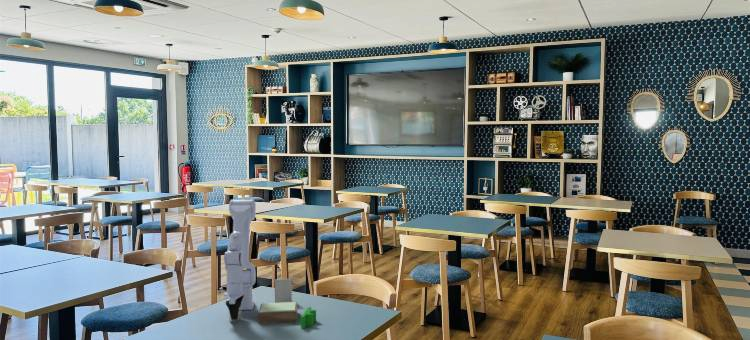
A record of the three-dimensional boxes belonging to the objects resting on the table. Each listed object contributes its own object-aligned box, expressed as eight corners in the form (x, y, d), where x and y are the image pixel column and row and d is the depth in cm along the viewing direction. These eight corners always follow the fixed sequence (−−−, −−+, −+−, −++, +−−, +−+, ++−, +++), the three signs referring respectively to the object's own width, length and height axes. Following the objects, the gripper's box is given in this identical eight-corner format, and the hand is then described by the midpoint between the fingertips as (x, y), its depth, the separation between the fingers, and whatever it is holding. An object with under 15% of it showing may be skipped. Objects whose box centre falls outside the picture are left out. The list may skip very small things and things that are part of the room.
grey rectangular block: (291, 303, 223) (291, 280, 223) (275, 304, 223) (274, 280, 222) (292, 301, 227) (291, 277, 226) (275, 301, 226) (275, 278, 226)
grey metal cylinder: (230, 319, 205) (229, 306, 205) (242, 318, 206) (242, 305, 205) (228, 323, 201) (228, 309, 200) (240, 322, 201) (240, 309, 201)
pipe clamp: (311, 329, 194) (310, 317, 194) (301, 329, 194) (300, 316, 194) (318, 318, 205) (317, 306, 205) (308, 318, 205) (308, 306, 205)
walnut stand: (261, 313, 211) (261, 302, 210) (297, 312, 212) (297, 301, 212) (258, 323, 200) (258, 312, 199) (296, 321, 201) (296, 310, 201)
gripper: (226, 277, 209) (227, 311, 210) (220, 287, 194) (221, 324, 195) (245, 276, 210) (245, 310, 210) (240, 286, 195) (241, 323, 196)
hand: (235, 317), depth 203 cm, fingers closed on grey metal cylinder, 4 cm apart
